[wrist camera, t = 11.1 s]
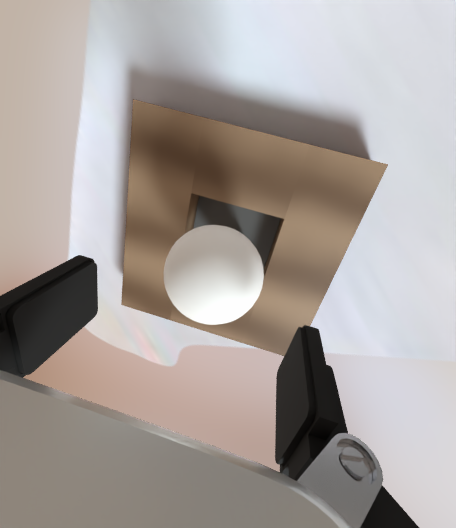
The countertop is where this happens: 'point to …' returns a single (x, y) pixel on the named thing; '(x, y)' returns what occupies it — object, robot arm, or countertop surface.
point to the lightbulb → (213, 274)
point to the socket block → (241, 214)
